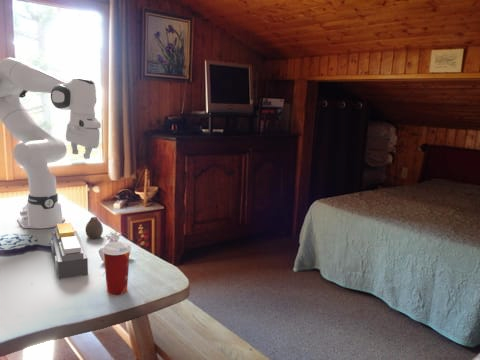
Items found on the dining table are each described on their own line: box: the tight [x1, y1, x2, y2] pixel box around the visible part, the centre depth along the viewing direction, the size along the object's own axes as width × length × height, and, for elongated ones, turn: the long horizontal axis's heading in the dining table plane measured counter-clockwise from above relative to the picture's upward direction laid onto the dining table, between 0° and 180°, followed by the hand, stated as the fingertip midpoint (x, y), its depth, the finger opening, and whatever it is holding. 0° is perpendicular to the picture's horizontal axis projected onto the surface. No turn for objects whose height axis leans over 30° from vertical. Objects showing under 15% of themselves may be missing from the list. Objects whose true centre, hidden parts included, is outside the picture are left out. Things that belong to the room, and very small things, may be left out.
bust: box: [98, 230, 132, 263], centre depth 150 cm, size 12×8×11 cm
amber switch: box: [56, 222, 75, 238], centre depth 152 cm, size 12×5×2 cm, turn 29°
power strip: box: [50, 225, 89, 280], centre depth 146 cm, size 30×9×8 cm, turn 29°
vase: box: [85, 216, 104, 240], centre depth 170 cm, size 7×7×9 cm
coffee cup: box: [103, 241, 132, 296], centre depth 125 cm, size 8×8×15 cm
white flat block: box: [61, 236, 81, 254], centre depth 138 cm, size 12×5×2 cm, turn 29°
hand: (80, 156), depth 158 cm, fingers open, 8 cm apart
